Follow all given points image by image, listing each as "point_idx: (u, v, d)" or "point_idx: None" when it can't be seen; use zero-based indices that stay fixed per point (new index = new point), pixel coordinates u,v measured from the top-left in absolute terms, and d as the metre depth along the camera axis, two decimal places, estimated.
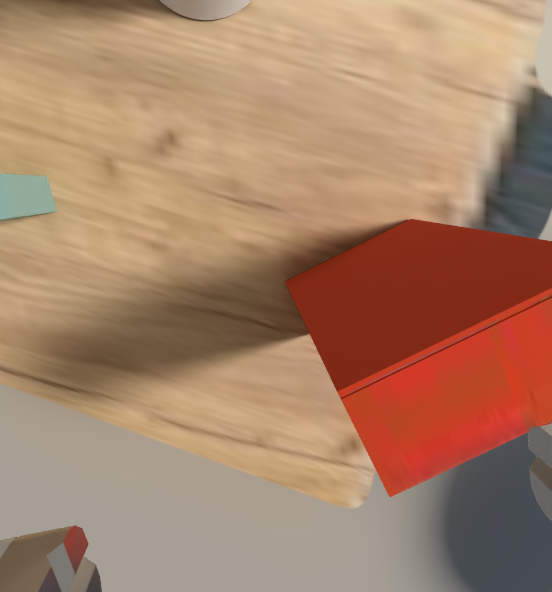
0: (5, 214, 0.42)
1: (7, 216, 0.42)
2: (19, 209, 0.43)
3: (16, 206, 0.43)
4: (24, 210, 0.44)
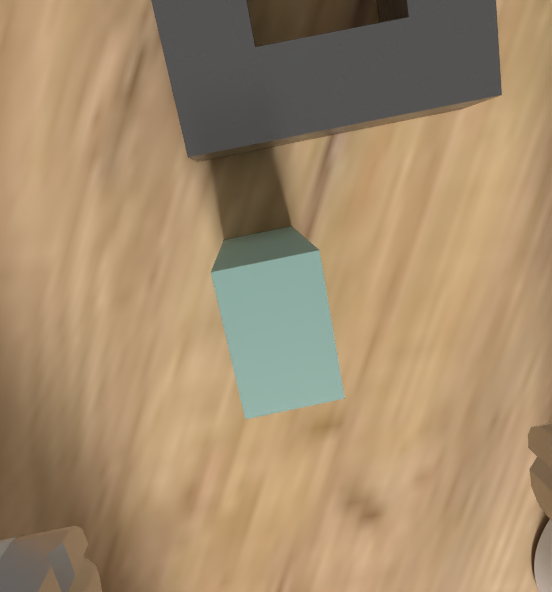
0: (251, 400, 0.17)
1: (246, 404, 0.17)
2: None
3: None
4: None
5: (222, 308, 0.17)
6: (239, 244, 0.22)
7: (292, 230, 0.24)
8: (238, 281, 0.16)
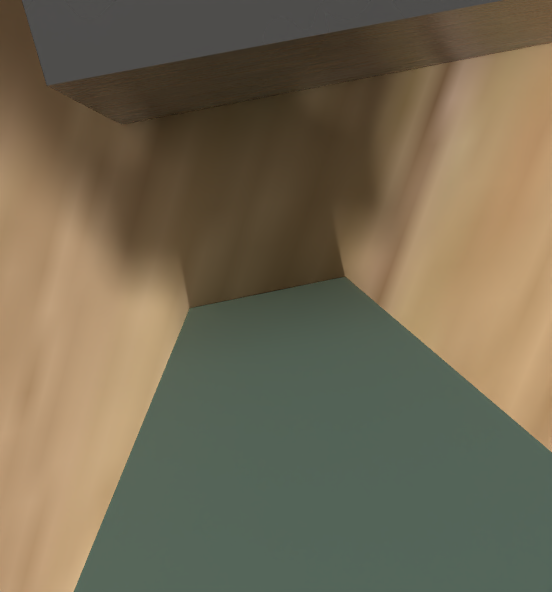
0: None
1: None
2: None
3: None
4: None
5: None
6: (222, 351, 0.08)
7: (360, 298, 0.09)
8: None
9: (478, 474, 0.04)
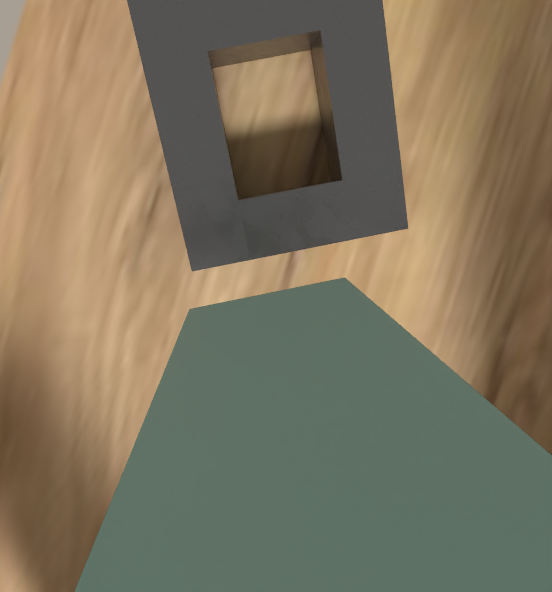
0: None
1: None
2: None
3: None
4: None
5: None
6: (221, 351, 0.08)
7: (359, 299, 0.09)
8: None
9: (476, 475, 0.04)
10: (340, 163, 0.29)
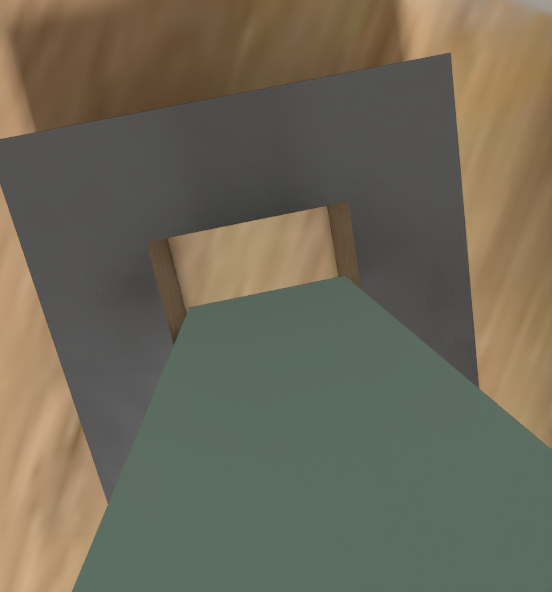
0: None
1: None
2: None
3: None
4: None
5: None
6: (222, 349, 0.08)
7: (360, 297, 0.09)
8: None
9: (478, 471, 0.04)
10: None
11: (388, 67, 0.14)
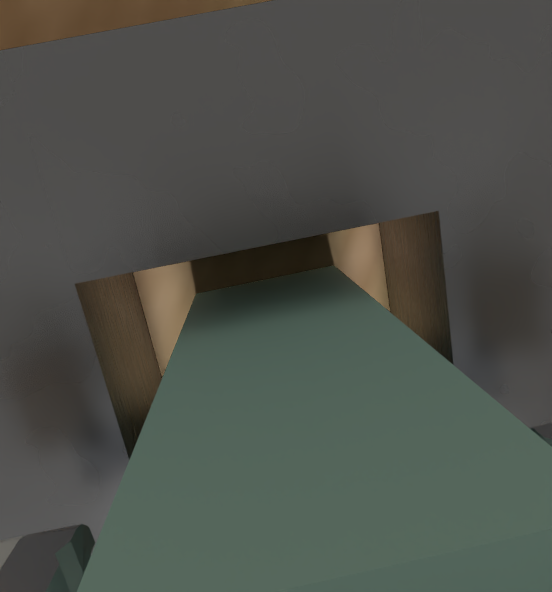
0: None
1: None
2: None
3: None
4: None
5: None
6: (226, 324, 0.09)
7: (344, 282, 0.11)
8: None
9: (414, 392, 0.05)
10: None
11: None
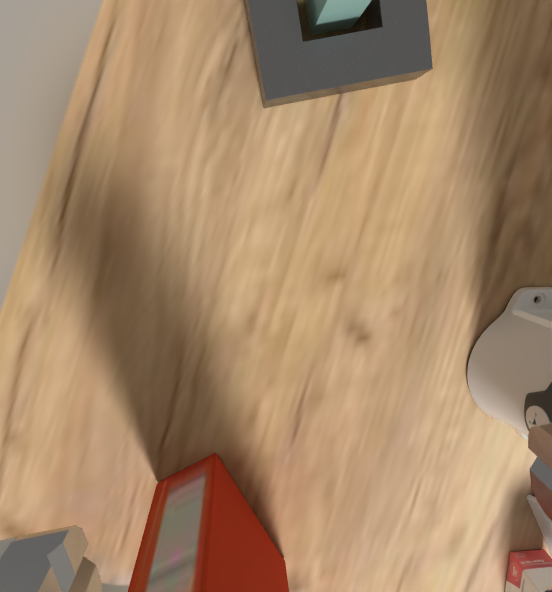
0: None
1: None
2: None
3: None
4: (332, 0, 0.34)
5: None
6: None
7: None
8: None
9: None
10: (381, 12, 0.38)
11: None
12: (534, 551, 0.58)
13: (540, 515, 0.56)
